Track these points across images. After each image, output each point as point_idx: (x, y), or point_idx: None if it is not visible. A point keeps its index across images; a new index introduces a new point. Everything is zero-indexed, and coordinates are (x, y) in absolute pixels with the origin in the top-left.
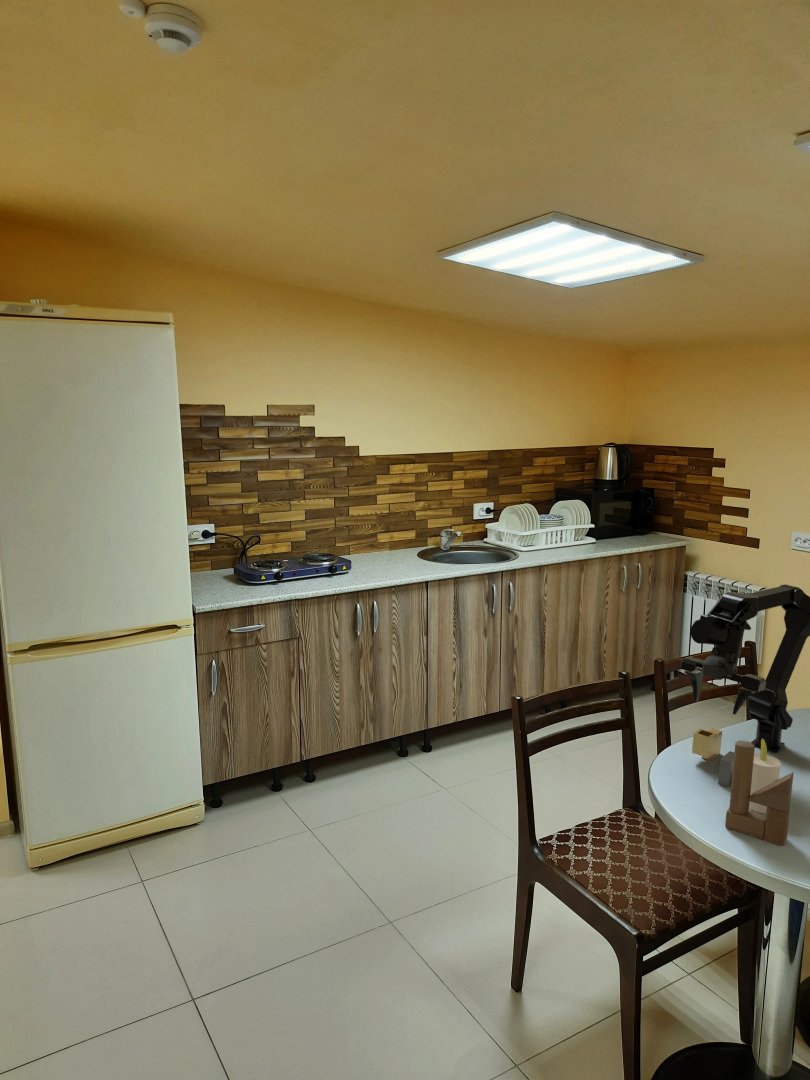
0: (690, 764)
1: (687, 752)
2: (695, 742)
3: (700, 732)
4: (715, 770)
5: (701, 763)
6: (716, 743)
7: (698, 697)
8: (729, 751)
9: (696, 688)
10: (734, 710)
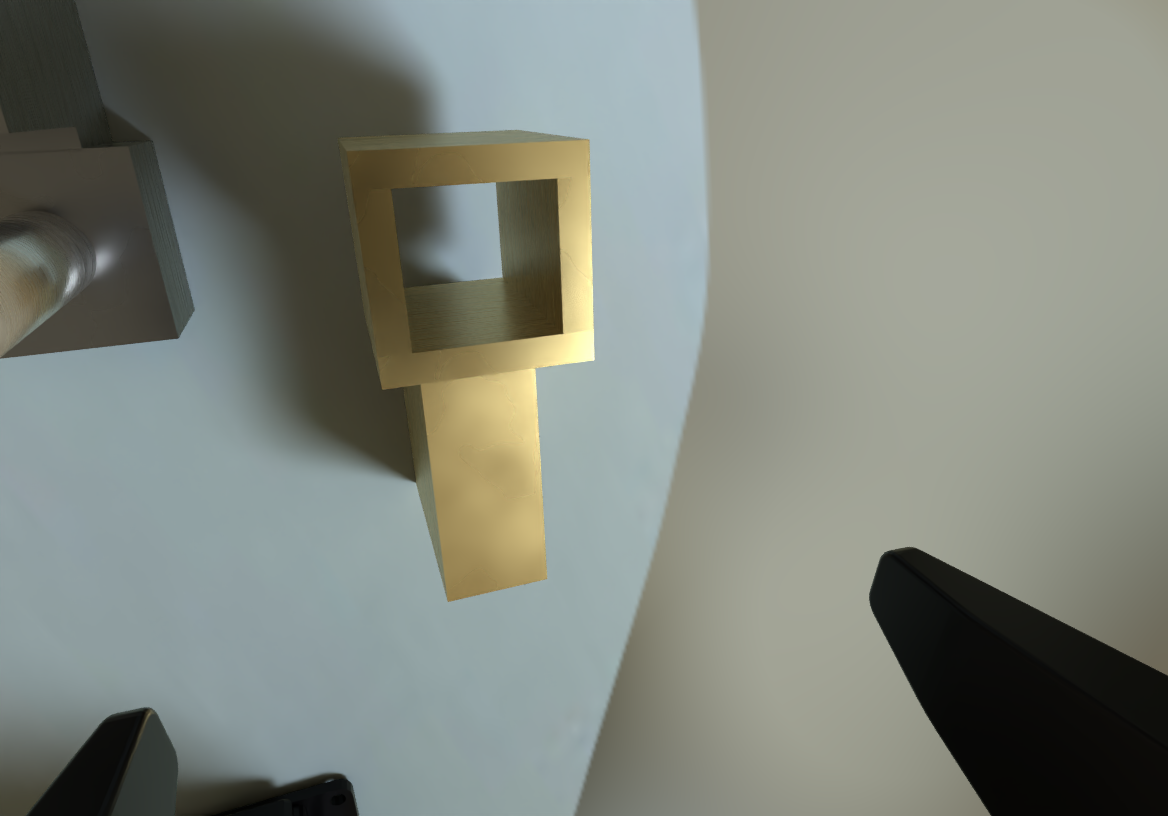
0: (477, 76)
1: (601, 295)
2: (522, 136)
3: (554, 293)
4: (255, 137)
5: None
6: (419, 437)
7: (912, 663)
8: (1, 111)
9: (1163, 739)
10: (88, 790)
